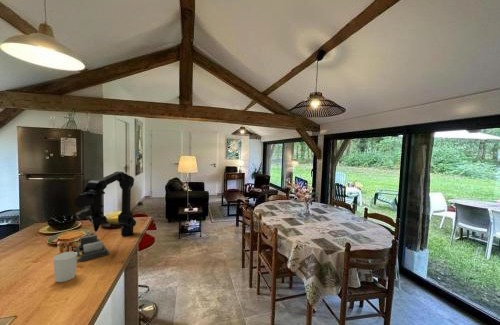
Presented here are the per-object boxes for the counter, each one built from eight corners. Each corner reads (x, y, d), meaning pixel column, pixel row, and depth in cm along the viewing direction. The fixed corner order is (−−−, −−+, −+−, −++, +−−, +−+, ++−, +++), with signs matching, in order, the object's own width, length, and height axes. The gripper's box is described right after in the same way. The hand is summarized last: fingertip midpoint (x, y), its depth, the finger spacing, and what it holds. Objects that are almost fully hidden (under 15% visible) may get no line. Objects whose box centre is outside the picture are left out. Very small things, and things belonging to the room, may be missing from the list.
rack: (100, 242, 134) (101, 231, 134) (110, 254, 119) (110, 242, 119) (71, 248, 124) (71, 237, 124) (77, 262, 109) (78, 249, 109)
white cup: (49, 279, 94) (50, 256, 94) (71, 271, 101) (71, 250, 101) (58, 285, 91) (59, 261, 90) (80, 276, 98) (81, 254, 97)
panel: (101, 251, 121) (101, 240, 121) (102, 253, 119) (102, 242, 119) (83, 255, 115) (83, 244, 115) (84, 257, 113) (84, 246, 113)
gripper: (74, 202, 121) (74, 230, 122) (80, 209, 108) (80, 240, 109) (98, 199, 129) (98, 225, 130) (107, 205, 116) (106, 234, 117)
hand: (95, 231), depth 121 cm, fingers closed
